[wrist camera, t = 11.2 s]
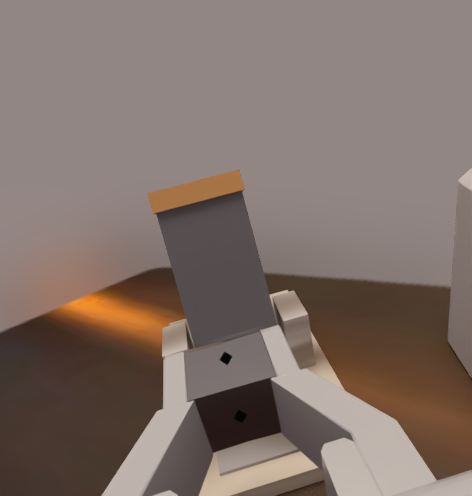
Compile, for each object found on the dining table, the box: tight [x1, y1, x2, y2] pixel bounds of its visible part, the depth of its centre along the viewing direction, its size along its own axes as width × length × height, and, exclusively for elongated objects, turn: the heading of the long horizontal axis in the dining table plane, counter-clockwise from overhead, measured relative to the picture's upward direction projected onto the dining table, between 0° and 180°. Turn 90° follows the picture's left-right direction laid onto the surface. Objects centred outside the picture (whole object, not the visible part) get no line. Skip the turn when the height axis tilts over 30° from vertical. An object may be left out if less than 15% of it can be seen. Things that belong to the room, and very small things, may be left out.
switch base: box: [162, 290, 345, 496], centre depth 31 cm, size 20×14×7 cm
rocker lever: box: [148, 170, 277, 348], centre depth 30 cm, size 3×7×14 cm, turn 100°
